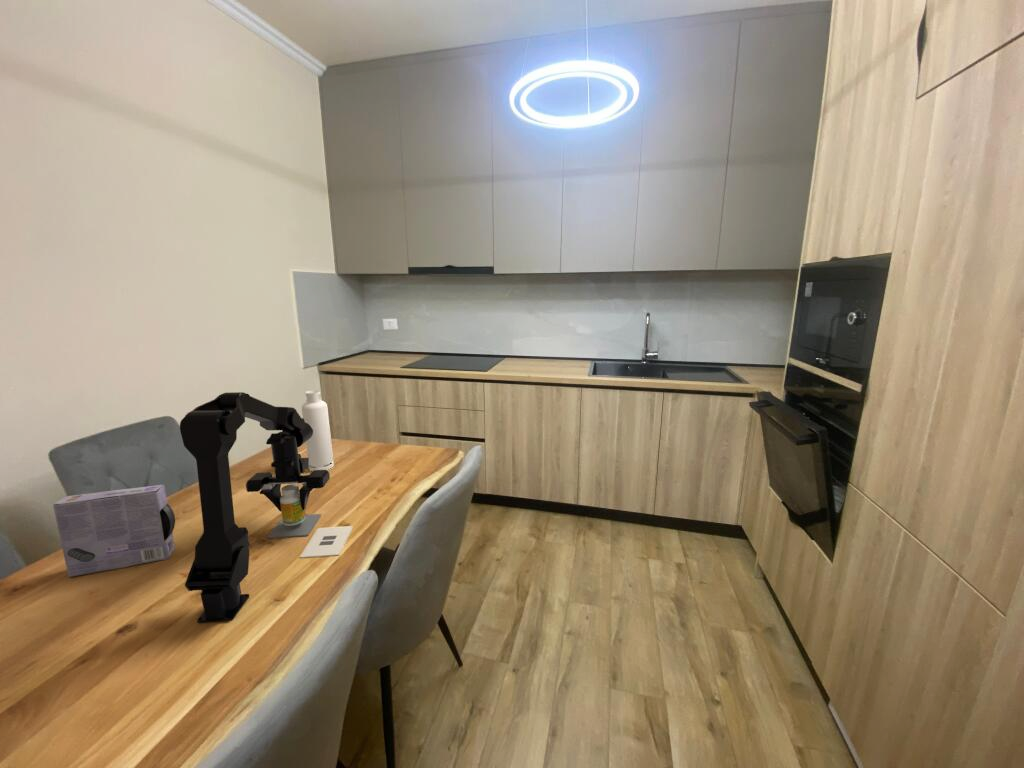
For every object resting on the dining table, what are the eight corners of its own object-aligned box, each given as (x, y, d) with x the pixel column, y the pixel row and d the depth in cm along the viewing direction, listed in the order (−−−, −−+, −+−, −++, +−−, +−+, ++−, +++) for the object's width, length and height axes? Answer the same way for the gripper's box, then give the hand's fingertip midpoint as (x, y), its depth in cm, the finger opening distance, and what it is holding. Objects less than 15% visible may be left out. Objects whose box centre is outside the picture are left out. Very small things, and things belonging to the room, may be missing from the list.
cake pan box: (182, 546, 100) (168, 481, 96) (174, 558, 96) (159, 490, 92) (81, 565, 94) (61, 495, 90) (67, 579, 89) (46, 506, 85)
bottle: (311, 464, 147) (301, 389, 141) (335, 461, 150) (327, 388, 143) (307, 473, 140) (297, 395, 134) (332, 470, 142) (324, 393, 136)
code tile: (339, 555, 97) (339, 554, 97) (299, 558, 96) (299, 556, 96) (353, 526, 108) (353, 525, 108) (318, 529, 107) (317, 528, 107)
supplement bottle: (296, 527, 105) (291, 493, 103) (278, 525, 106) (273, 491, 104) (310, 516, 110) (306, 483, 108) (292, 514, 111) (288, 481, 109)
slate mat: (307, 536, 104) (307, 534, 104) (266, 538, 103) (266, 537, 103) (321, 515, 114) (321, 513, 114) (284, 517, 113) (283, 516, 113)
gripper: (333, 442, 113) (338, 493, 116) (262, 445, 111) (270, 497, 114) (319, 458, 102) (325, 514, 105) (240, 461, 100) (249, 518, 103)
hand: (293, 509), depth 107 cm, fingers closed on supplement bottle, 5 cm apart
